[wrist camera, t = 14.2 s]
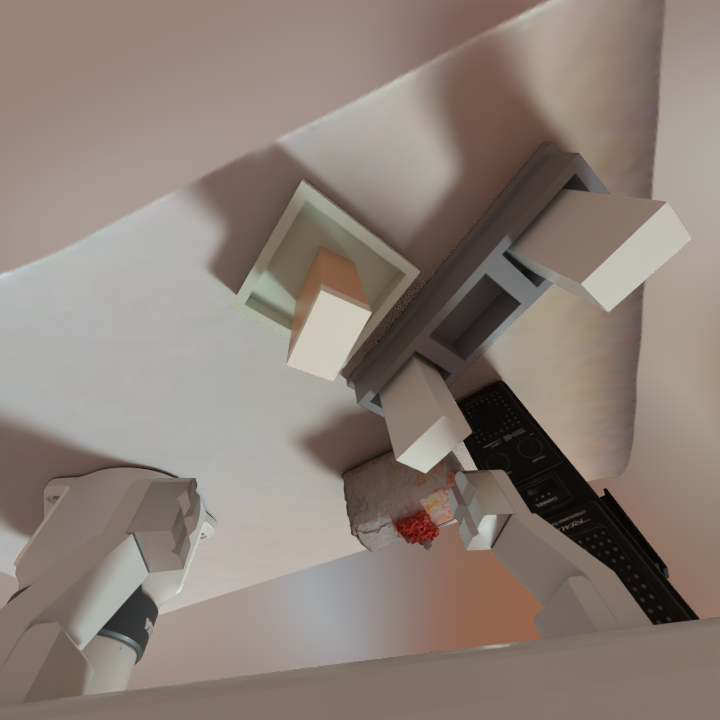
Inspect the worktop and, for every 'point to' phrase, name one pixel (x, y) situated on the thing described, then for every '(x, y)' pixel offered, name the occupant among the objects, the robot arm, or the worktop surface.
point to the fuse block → (508, 291)
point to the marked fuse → (327, 316)
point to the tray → (297, 252)
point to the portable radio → (567, 498)
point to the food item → (399, 501)
